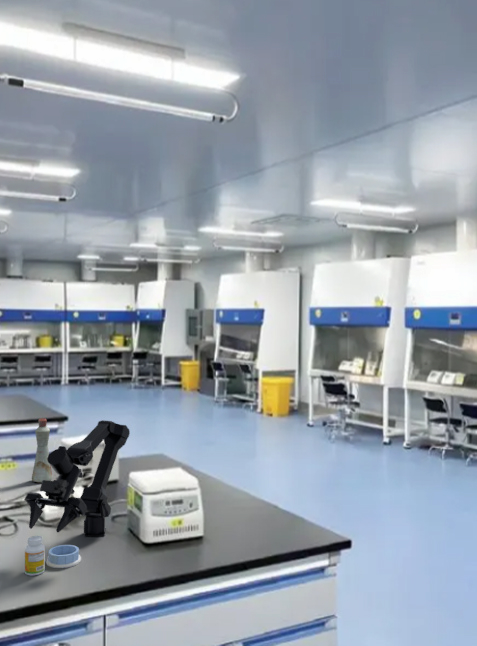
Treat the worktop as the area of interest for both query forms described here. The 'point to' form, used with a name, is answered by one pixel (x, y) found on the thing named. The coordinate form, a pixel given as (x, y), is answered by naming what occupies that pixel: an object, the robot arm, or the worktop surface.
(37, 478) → the bottle
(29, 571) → the supplement bottle
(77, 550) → the holder
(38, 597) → the worktop surface
